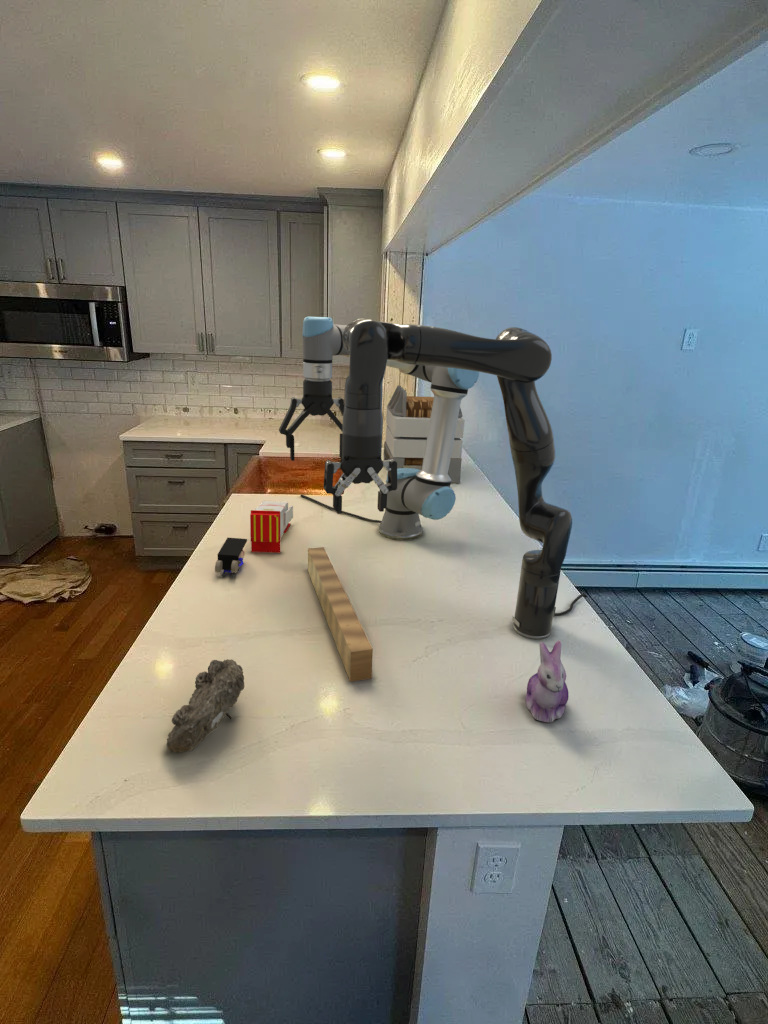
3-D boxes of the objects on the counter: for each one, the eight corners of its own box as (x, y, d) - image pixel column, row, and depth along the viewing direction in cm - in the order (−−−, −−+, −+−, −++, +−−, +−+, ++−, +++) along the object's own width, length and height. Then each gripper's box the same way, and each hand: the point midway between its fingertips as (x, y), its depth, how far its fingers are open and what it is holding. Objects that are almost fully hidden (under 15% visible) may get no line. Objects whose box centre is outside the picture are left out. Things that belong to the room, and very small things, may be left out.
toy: (295, 495, 204) (283, 512, 175) (295, 531, 207) (283, 554, 178) (261, 494, 204) (243, 511, 175) (262, 530, 207) (244, 553, 177)
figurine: (546, 731, 108) (557, 664, 103) (511, 699, 116) (520, 636, 111) (582, 717, 112) (595, 652, 107) (546, 687, 121) (556, 626, 116)
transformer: (382, 463, 289) (386, 382, 275) (445, 464, 293) (451, 384, 279) (390, 482, 257) (394, 392, 243) (460, 483, 261) (468, 394, 247)
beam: (307, 570, 169) (307, 548, 167) (323, 569, 170) (323, 547, 168) (349, 681, 120) (350, 652, 118) (371, 678, 121) (372, 649, 119)
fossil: (192, 660, 117) (244, 628, 112) (224, 691, 120) (276, 661, 115) (142, 746, 98) (202, 712, 93) (182, 779, 101) (242, 748, 96)
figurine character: (238, 584, 162) (249, 557, 175) (236, 562, 158) (247, 536, 172) (215, 584, 161) (227, 556, 175) (212, 561, 158) (225, 535, 171)
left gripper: (270, 380, 140) (272, 463, 148) (367, 381, 147) (365, 460, 155) (267, 377, 147) (269, 456, 154) (360, 377, 154) (358, 453, 161)
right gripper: (329, 435, 101) (328, 520, 107) (404, 434, 105) (400, 516, 111) (321, 427, 108) (320, 507, 113) (392, 426, 112) (388, 503, 118)
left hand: (317, 458), depth 155 cm, fingers open, 13 cm apart
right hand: (360, 511), depth 112 cm, fingers open, 8 cm apart
